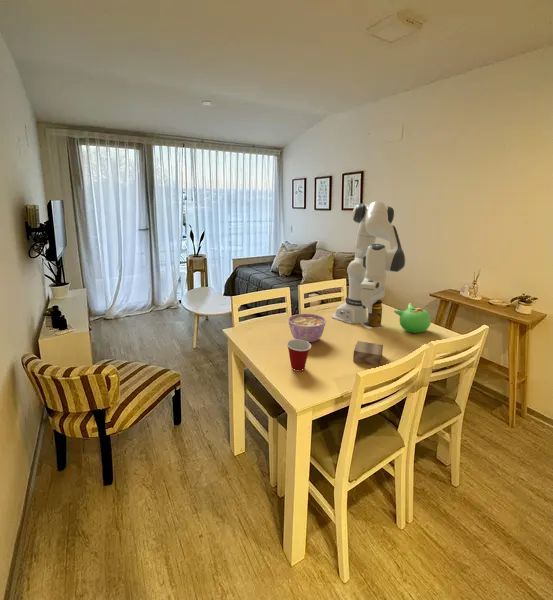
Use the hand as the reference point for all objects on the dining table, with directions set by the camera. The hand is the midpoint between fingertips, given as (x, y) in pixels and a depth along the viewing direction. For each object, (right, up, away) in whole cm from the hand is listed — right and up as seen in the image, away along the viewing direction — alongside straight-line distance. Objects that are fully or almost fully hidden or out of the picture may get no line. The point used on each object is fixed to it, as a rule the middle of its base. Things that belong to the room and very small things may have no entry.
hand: (373, 310), depth 153 cm
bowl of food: (-28, -17, +27) cm, 42 cm away
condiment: (0, -7, +1) cm, 7 cm away
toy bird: (+34, -13, +39) cm, 54 cm away
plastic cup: (-35, -26, -3) cm, 43 cm away
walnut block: (-1, -23, +6) cm, 24 cm away
